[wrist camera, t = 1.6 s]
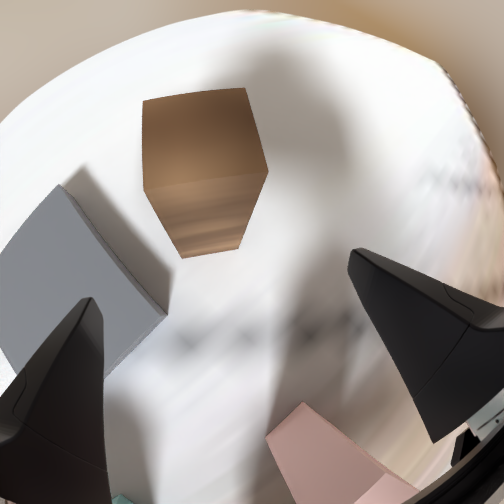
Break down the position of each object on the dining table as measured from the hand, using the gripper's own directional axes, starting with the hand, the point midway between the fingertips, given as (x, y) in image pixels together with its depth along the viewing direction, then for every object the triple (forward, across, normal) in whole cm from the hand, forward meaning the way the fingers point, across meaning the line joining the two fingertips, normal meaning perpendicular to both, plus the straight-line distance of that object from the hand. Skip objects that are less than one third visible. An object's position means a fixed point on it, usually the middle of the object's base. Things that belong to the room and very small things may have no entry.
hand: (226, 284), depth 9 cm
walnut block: (+13, 0, +5) cm, 14 cm away
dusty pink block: (0, -4, +18) cm, 18 cm away
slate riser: (+10, +14, +8) cm, 19 cm away
